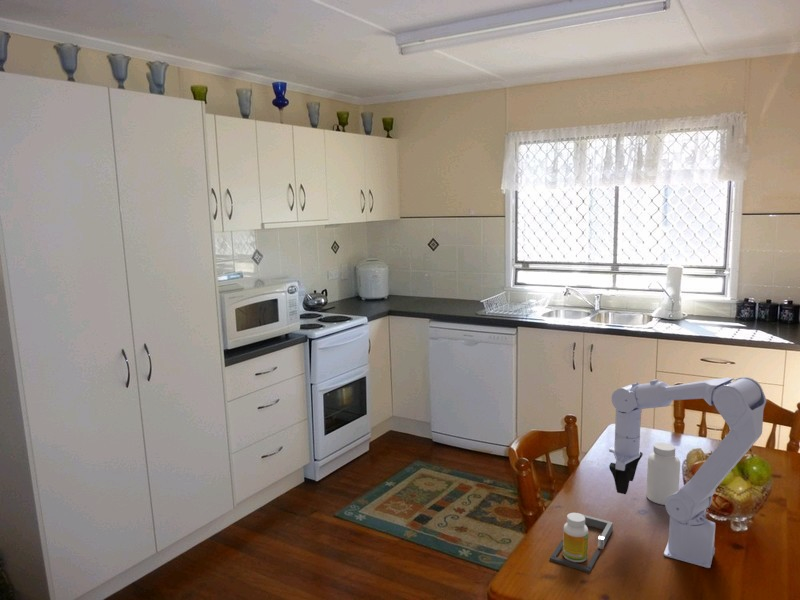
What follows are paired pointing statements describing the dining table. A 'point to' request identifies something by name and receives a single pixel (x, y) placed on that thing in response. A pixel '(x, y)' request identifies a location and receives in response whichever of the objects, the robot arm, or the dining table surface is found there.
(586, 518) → the dispenser cradle
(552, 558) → the rubber frame
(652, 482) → the pill bottle
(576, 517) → the supplement bottle
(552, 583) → the dining table surface
